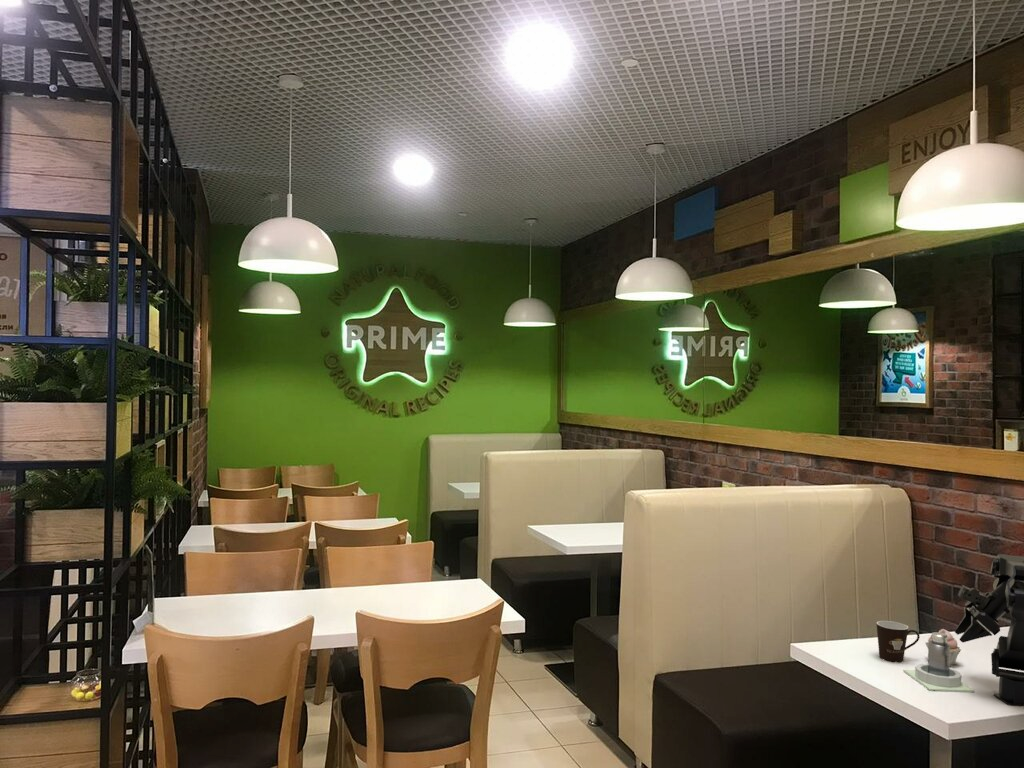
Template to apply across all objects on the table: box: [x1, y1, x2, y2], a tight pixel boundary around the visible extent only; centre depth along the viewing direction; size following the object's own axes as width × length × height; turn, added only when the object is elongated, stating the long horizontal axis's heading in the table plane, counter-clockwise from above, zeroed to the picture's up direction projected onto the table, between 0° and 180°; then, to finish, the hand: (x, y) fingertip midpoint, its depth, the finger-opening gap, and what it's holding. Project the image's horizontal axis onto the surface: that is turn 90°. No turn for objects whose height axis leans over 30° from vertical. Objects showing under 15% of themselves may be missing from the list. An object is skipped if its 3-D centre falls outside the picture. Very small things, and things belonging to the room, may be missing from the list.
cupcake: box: [925, 628, 962, 667], centre depth 230 cm, size 9×9×10 cm
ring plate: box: [903, 662, 975, 693], centre depth 214 cm, size 14×12×3 cm
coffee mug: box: [876, 620, 921, 663], centre depth 231 cm, size 12×9×10 cm
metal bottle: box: [927, 631, 951, 677], centre depth 214 cm, size 5×5×12 cm
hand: (958, 637), depth 213 cm, fingers open, 9 cm apart
